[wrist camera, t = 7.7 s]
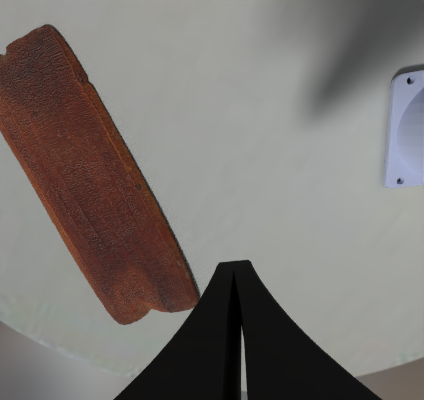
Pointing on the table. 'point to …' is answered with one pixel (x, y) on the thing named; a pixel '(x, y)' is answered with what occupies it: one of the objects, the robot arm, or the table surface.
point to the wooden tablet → (89, 180)
